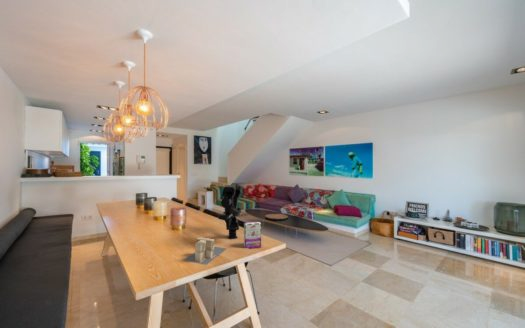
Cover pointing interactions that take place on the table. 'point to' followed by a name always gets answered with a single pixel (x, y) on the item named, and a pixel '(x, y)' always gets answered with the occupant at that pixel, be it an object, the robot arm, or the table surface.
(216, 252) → the slate board
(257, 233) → the candy bar box
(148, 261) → the table surface
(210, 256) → the maple T block
